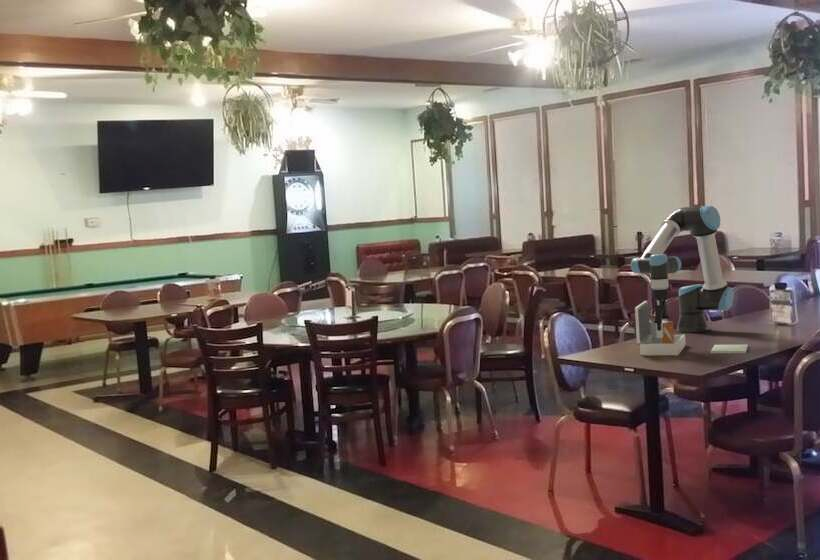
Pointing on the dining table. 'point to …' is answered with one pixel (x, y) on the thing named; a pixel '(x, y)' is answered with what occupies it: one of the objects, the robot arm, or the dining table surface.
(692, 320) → the robot arm
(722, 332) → the dining table surface
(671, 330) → the small box
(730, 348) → the sage mat
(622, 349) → the dining table surface
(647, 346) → the equipment case
